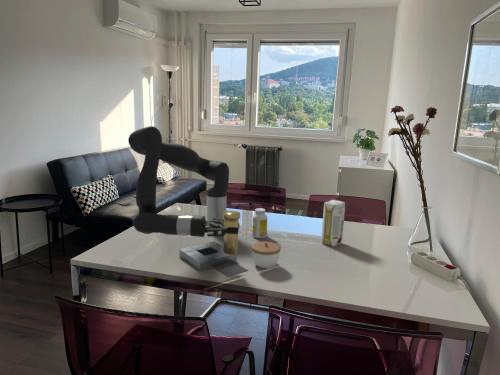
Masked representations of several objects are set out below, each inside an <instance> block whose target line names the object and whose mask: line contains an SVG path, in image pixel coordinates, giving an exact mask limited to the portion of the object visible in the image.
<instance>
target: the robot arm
mask: <svg viewBox="0 0 500 375" xmlns="http://www.w3.org/2000/svg"><path fill="white" fill-rule="evenodd" d="M128 145H129V146H130V148H131V149H132V151H134V152H135V153H137V154H139V155H143V156H144V161H143V165H142V168H141V170H140V173H139V175H138V178H137V181H136V187H135V189H136V190H135V202H136V206H137V207H138V214H136V216H134V218H133V220H132V225H133V228H134V229H135V231H137V232H138V233H141V234H146V235H151V234H153V233H155V234H164V235H168V236H169V235H171V236H172V235H173V236H183V237H190V238H191V237H193V238H194V237H196V238H203V237H205V234H207V237H224V236H225V235H226V234H238V235H239V229H240V225H241V224H240V223H239V224H238V228H237V227H228V228H227V227H224V220H225V218H223V212H225V211H228V210H227V201H228V200H227V197H228V196H227V195H228V194H227V193H228V190H229V182H230V181H229V180H230V168H229V167H230V166H228V164H227V163H226V162H223V161H216V160H212V159H211V160H210V159H207V158H203V157H201V156H199V154H198V153H197V151H196V150H194V149H192V148H191V147H188V146H187V145H183V144H179V143H173V142H163V136H162V134H161V131H160V130H159V129H158V128H157V127H156V126H153V125H150V126H146V127H142V128H139V129H136V130H134V131H132V133H131V132H130V134H129V136H128ZM160 160H161V161H162V162H164V163H168V164H169V165H170V164H171V165H172V166H175V167H177V168H179V169H183V170H185V171H189V172H193V173H195V174H196V173H197V174H198V175H200V176H201V177H203V178H205V179H207V180H209V181H214V182H213V187H209V188H208V189H207V190H206V216H204V215H192V214H183V215H177V214H176V215H175V214H159V213H158V209H157V176H158V169H159V165H160V164H159V163H160Z"/></svg>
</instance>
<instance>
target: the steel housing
mask: <svg viewBox="0 0 500 375" xmlns="http://www.w3.org/2000/svg"><path fill="white" fill-rule="evenodd" d="M178 253H179V255H178V257H179V258H181V259H182V260H183V261H185V262H186V263H188V264H190V266H192V267H194V268H195V269H197V270H198V271H199V272H201V271H205V270H208V269H209V270H210V269H212V268H213V269H214V267H218V266H221V265H225V264H228V263H232V262H235V263H236V262H237V253H238V252H237V253H236V254H225V253H224V245H223V244H220V243H218V242H216V241H214V240H213V241H209V242H205V243H204V242H203V243H201V244H197V245H196V244H195V245H191V246H187V247H183V248H179V252H178Z"/></svg>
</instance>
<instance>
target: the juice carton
mask: <svg viewBox="0 0 500 375" xmlns="http://www.w3.org/2000/svg"><path fill="white" fill-rule="evenodd" d="M322 211H323V213H322V214H323V215H322V227H321V229H322V230H321V244H323V245H326V246H330V247H337V246H338V245H341V244H342V241H343V238H344V237H343V233H344V224H345V212H346V203H345V201H341V200H337V199H331V200H329V201H325V202H324V204H323V210H322Z"/></svg>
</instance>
